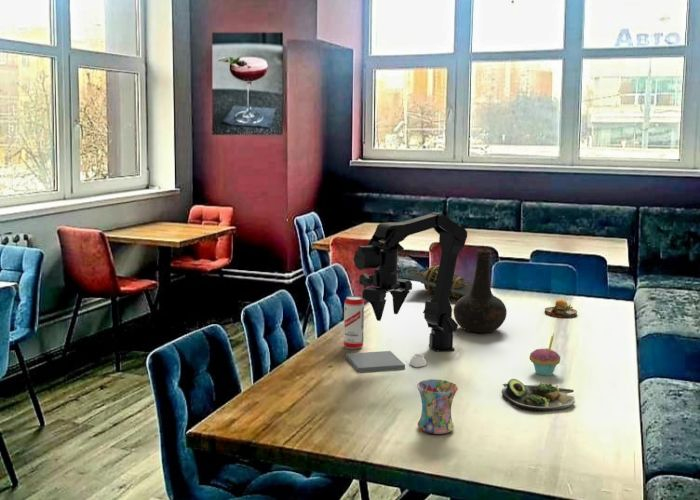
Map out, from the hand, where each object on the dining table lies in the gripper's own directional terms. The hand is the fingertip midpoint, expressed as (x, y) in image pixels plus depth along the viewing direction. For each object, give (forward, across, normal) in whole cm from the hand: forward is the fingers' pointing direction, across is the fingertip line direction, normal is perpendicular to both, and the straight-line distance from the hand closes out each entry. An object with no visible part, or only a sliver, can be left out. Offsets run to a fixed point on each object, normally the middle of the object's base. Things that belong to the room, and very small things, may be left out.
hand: (387, 317), depth 232 cm
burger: (+15, -88, +20) cm, 92 cm away
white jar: (+13, -1, +10) cm, 17 cm away
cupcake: (+14, -17, +43) cm, 48 cm away
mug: (+13, +39, +39) cm, 57 cm away
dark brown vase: (+14, -48, +7) cm, 50 cm away
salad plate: (+14, +5, +49) cm, 51 cm away
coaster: (+13, +6, 0) cm, 14 cm away
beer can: (+13, -3, -15) cm, 20 cm away
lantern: (+15, -87, -32) cm, 94 cm away
